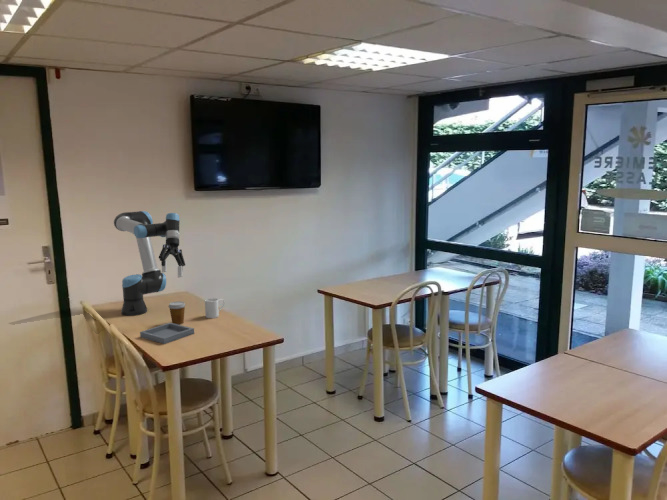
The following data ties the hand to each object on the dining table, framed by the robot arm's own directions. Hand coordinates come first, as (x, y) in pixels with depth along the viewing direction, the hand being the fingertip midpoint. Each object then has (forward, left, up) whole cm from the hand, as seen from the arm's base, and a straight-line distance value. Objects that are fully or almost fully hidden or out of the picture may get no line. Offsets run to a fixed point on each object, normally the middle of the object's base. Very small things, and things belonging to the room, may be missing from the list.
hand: (172, 274), depth 300 cm
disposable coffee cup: (-4, +5, -31) cm, 31 cm away
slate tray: (+9, -13, -30) cm, 34 cm away
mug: (+4, +27, -31) cm, 41 cm away
